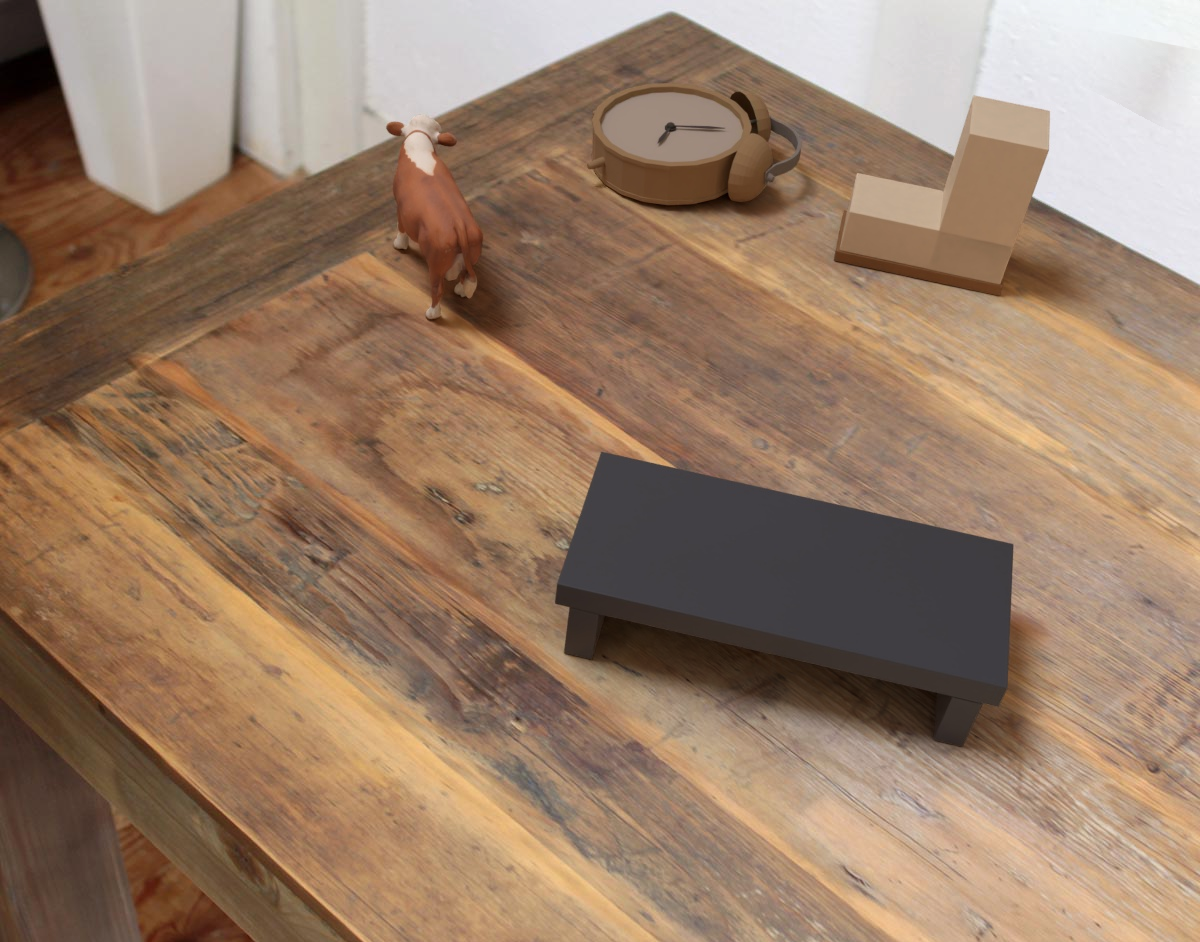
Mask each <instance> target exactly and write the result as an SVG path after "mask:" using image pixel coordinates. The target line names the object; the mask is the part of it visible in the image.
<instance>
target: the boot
mask: <svg viewBox="0 0 1200 942" xmlns="http://www.w3.org/2000/svg"><path fill="white" fill-rule="evenodd" d="M1050 121H1051V111H1050V110H1048V109H1043V108H1038V107H1033V106H1028V105H1024V104H1018V103H1014V102H1008V101H1004V100H999V99H994V98H989V97H984V96H979V95H974V94H973V96H972V99H971V101H970V104H969V107H968V112H967V114H966V118H965V122H964V124H963V127H962V130H961V133H960V137H959V140H958V143H957V146H956V150H955V152H954V156H953V158H952V162H951V166H950V169H949V172H948V175H947V178H946V181H945V185H944V188H943V190H941V189H936V188H933V187H927V186H923V185H917V184H912V183H909V182H903V181H898V180H893V179H889V178H884V177H879V176H874V175H870V174H865V173H860V172H857V173H856V175H855V180H854V182H853V186H852V190H851V194H850V198H849V202H848V206H847V209H846V210H843V213H842V217H841V220H840V221H841V222H840V227H839V232H838V237H837V242H836V247H835V252H834V257H833V261H834V262H839V263H844V264H848V265H853V266H858V267H862V268H867V269H871V270H875V271H881V272H885V273H890V274H895V275H898V276H899V275H900V276H904V277H910V278H914V279H919V280H923V281H927V282H928V281H929V282H932V283H938V284H941V285H947V286H952V287H957V288H959V289H960V288H961V289H965V290H970V291H975V292H980V293H984V294H987V295H988V294H989V295H994V296H999V297H1000V295H1001V292H1002V290H1003V287H1004V275H1005V272H1006V270H1007V267H1008V264H1009V261H1010V259H1011V256H1012V253H1013V251H1014V248H1015V245H1016V242H1017V239H1018V236H1019V234H1020V232H1021V228H1022V225H1023V223H1024V220H1025V218H1026V215H1027V212H1028V209H1029V206H1030V203H1031V200H1032V198H1033V195H1034V192H1035V190H1036V186H1037V184H1038V181H1039V179H1040V175H1041V173H1042V170H1043V168H1044V165H1045V162H1046V160H1047V156H1048V154H1049V152H1050V124H1051V122H1050Z"/></svg>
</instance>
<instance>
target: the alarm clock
mask: <svg viewBox="0 0 1200 942" xmlns="http://www.w3.org/2000/svg"><path fill="white" fill-rule="evenodd" d="M591 115H592V116H593V117H592V119H591V125H592V143H591V145H592V147H591V149H592V150H591V151H592V152H591V154H590V155H591V158H590V159H591V161H590V162H588V163H587V164H586V167H587V169H588V170H593V173H595V174H596V175H597V177H598V178H599V180H600V181H601V182H602V183H603V184H604V185H605V186H607V187H609V188H610V189H612V190H613V191H615V192H616V193H618V194H620V195H622V196H625V197H628V198H630V199H634V200H637V201H640V202H642V203H649V204H658V205H665V206H676V205H677V206H679V205H696V204H698V203H703V202H708V201H712V200H716V199H717V198H719V197H721V196H724V195H726V194H727V193H728V198H729V199H730V200H731V201H733V202H738V203H744V202H750V201H752V200H754V199H755V198H757V197H758V196H759V195H760V194H761V193H762V192H763V191H764V189H765V188H766V186H767V184H768V183H772V182H774V181H775V178H776V177H779V176H782V175H784V174H786V173H788V172H790V171H792V170H793V169H795V167H797V166H798V164H799V162H800V160H801V159H800V158H801V150H802V143H803V142H802V139H801V136H800V134H799V132H798V131H797V130H796V129H795V128H793V127H792V126H790V125H789V124H787V123H786V122H783V121H780V120H779V119H776V118H775V117H773V116H771V115H770V112H769V109H768V107H767V105H766V103H765V101H763V99H762V98H761V97H760V96H759V95H757V94H755V93H754V92H752V91H749V90H748V91H747V90H737V91H734V92H733V93H732V94H731V95H730V97H728V96H726V95H724V94H723V93H720V92H718V91H715V90H712V89H709V88H705V87H702V86H699V85H695V84H694V85H693V84H687V83H686V84H685V83H677V82H666V83H665V82H661V83H660V82H659V83H646V84H641V85H636V86H631V87H628V88H625V89H622V90H620V91H618V92H616V93H614V94H611V95H609V96H608V97H607V98H606V99H604V100H603V101H602V102H601V103H600V104H598V106H597V107H596V109H594V110H593V111H592V114H591ZM772 132H773V133H774V134H777V135H779V136H781V137H783V138H784V139H786V140H787V141H788V142H789V143H791V145H792V147H793V148H794V153H793V154H792V155H791V156H789V157H788V158H786V159H784V160H782V161H779V162H777V163H774V157H773V151H772V148H771V146H770V144H769V141H770V138H771V134H772Z"/></svg>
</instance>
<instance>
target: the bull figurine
mask: <svg viewBox="0 0 1200 942" xmlns="http://www.w3.org/2000/svg"><path fill="white" fill-rule="evenodd" d="M385 129H386V131H387V133H389V135H392V136H395V137H404V138H405V139H404V140H403V143H402V145H401V146H400V150H399V154H398V155H399V156H398V160H397V162H398V163H397V166H396V170H395V174H394V176H393V180H392V181H393V182H392V194H393V197H394V200H395V202H396V217H397V224H396V228H397V231H398V233H397V236H396V238H395V239H393V242H392V247H393V248H394V249H395V250H400V249H403V250H407V249H408V247H409V239H410V240H411V241H412V242H414V243H415V244H416V245H417V246H419V249H420V251H421V253H422V255H423V256H424V258H425V261H426V263H427V266H428V269H429V270H428V271H429V281H430V286H431V287H430V288H431V289H430V296H431V304H430V306H429V307H428V308H427V310H426V311H425V312H424V316H425V318H427V320H436V319H438V318H440V317H441V314H442V307H441V299H442V297H443V295H444V294H445V279H446V281H450V282H451V281H453V280H457V279H458V277H459V282H457V284H456V285H455V287H454V289H453V292H454V293H455V294H456V295H458V296H460V297H461V298H465V297H466V298H468V299H471V298H472V297H473V296H474V293H475V291H476V290H477V286H478V278H477V275H476V273H475V271H474V269H473V266H475V265H476V264H477V263H478V260H479V258H480V256H481V254H482V252H483V251H482V250H483V248H482V247H483V243H484V234H483V231H482V229H481V227H480V226H479V224H478V223H477V221H476V220H475V218H474V215H473V212H472V210H471V207H470V205H469V204H468V203H467V200H466V199H465V196H464V195H463V193H462V191H461V189H460V187H459V186H458V184H457V182H456V180H455V178H454V176H453V174H452V172H451V170H450V168H449V167H448V165H446V163H445V162H444V161H443V160H442V159H441V158H440V157H438V155H437V154H438V153H439V151H440V146H443V147H454V146H456V145H457V142H458V140H457V138H456V136H455V135H454V134H452V133H451V132H442V126H441V125H440V123H439V122H438V121H436V120H435V119H434V118H433V117H431V116H429V115H427V114H417V115H415V116H413V117H412V118H410V121H409V123H408V124H407V125H406V124H404V123H403V122H401V121H390V122H388V123H387V124H386V126H385Z"/></svg>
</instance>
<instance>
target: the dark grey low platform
mask: <svg viewBox="0 0 1200 942" xmlns="http://www.w3.org/2000/svg"><path fill="white" fill-rule="evenodd" d="M1013 566H1014V543H1011V542H1007V541H1002V540H997V539H994V538H990V537H989V538H988V537H984V536H980V535H975V534H971V533H967V532H962V531H958V530H953V529H948V528H945V527H940V526H936V525H930V524H927V523H921V522H918V521H913V520H908V519H904V518H900V517H895V516H891V515H886V514H883V513H878V512H873V511H869V510H864V509H859V508H855V507H850V506H846V505H843V504H842V505H841V504H837V503H833V502H829V501H824V500H819V499H815V498H811V497H806V496H802V495H797V494H793V493H790V492H789V493H787V492H785V491H784V492H783V491H780V490H776V489H771V488H766V487H761V486H757V485H752V484H748V483H743V482H739V481H735V480H731V479H726V478H722V477H717V476H713V475H708V474H705V473H700V472H695V471H691V470H687V469H681V468H677V467H674V466H673V467H672V466H669V465H668V466H667V465H665V464H659V463H655V462H650V461H646V460H642V459H637V458H632V457H628V456H623V455H619V454H616V453H615V454H614V453H610V452H605V451H601V452H600V454H599V457H598V460H597V463H596V466H595V469H594V471H593V475H592V478H591V480H590V484H589V487H588V490H587V492H586V495H585V498H584V502H583V505H582V508H581V511H580V513H579V517H578V520H577V523H576V525H575V529H574V532H573V535H572V539H571V541H570V544H569V547H568V549H567V552H566V556H565V559H564V561H563V565H562V568H561V570H560V574H559V576H558V579H557V582H556V590H555V596H554V597H555V598H554V604H555V605H559V606H563V607H566V608H569V609H568V616H567V623H566V631H565V640H564V648H563V654H566V655H570V656H573V657H578V658H583V659H586V660H593V659H594V655H595V652H596V649H597V645H598V642H599V638H600V635H601V632H602V628H603V625H604V621H605V618H606V617H609V618H613V619H618V620H623V621H627V622H631V623H636V624H640V625H644V626H649V627H653V628H657V629H661V630H666V631H669V632H674V633H678V634H683V635H687V636H691V637H696V638H700V639H704V640H709V641H712V642H717V643H721V644H726V645H730V646H734V647H738V648H742V649H747V650H752V651H755V652H760V653H764V654H768V655H772V656H778V657H781V658H786V659H790V660H794V661H799V662H803V663H806V664H811V665H816V666H820V667H824V668H829V669H833V670H838V671H842V672H846V673H850V674H855V675H858V676H863V677H867V678H872V679H876V680H880V681H883V682H889V683H893V684H896V685H902V686H906V687H910V688H915V689H918V690H924V691H928V692H932V693H936V704H935V714H934V725H933V727H934V728H933V736H932V737H933V739H932V740H933V741H935V742H940V743H945V744H948V745H953V746H957V747H961V748H962V747H964V745H965V743H966V741H967V738H968V736H969V734H970V732H971V730H972V728H973V726H974V723H975V721H976V720H977V717H978V714H979V713H980V711H981V708H982V707H983V704H984V705H988V706H992V707H995V708H998V707H1000V705H1001V702H1002V701H1003V698H1004V696H1005V694H1006V693H1007V690H1008V688H1009V687H1008V686H1009V664H1010V663H1009V662H1010V642H1011V641H1010V640H1011V638H1010V637H1011V620H1012V619H1011V618H1012V617H1011V616H1012V615H1011V614H1012V594H1013V592H1012V590H1013V572H1014V571H1013V568H1014V567H1013Z"/></svg>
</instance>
